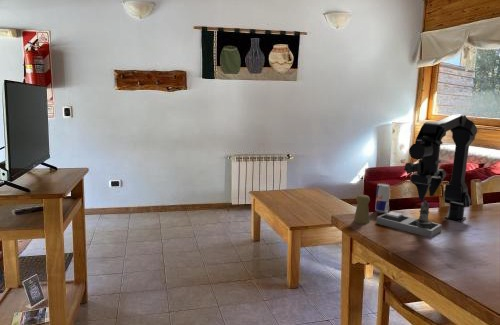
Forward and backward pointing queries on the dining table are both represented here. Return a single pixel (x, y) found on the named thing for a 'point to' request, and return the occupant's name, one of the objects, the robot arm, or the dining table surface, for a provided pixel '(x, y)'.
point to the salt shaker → (424, 216)
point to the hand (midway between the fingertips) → (426, 198)
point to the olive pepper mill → (362, 209)
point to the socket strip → (409, 225)
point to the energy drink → (382, 198)
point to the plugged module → (394, 216)
